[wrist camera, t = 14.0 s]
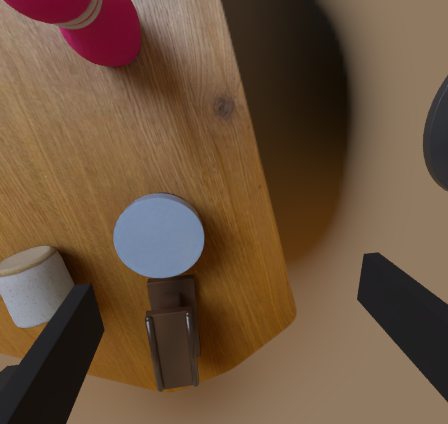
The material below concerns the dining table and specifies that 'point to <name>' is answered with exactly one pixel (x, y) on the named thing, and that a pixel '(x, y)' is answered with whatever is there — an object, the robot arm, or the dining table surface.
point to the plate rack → (173, 331)
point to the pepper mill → (91, 26)
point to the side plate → (159, 235)
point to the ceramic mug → (34, 285)
